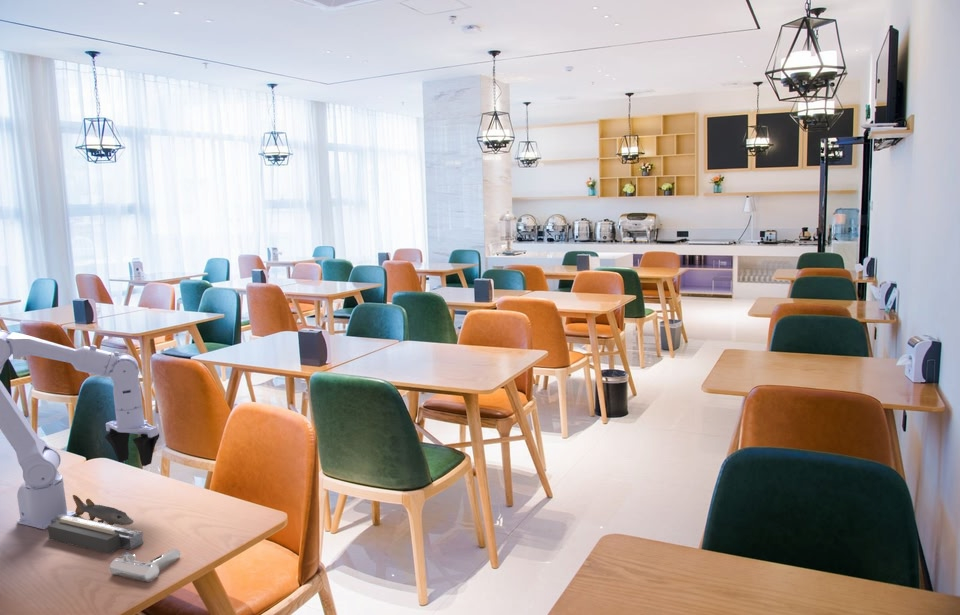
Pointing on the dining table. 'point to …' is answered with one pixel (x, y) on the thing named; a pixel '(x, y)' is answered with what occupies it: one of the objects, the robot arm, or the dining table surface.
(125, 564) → the silver l-shaped piece
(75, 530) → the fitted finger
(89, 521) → the rail
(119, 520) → the fish
